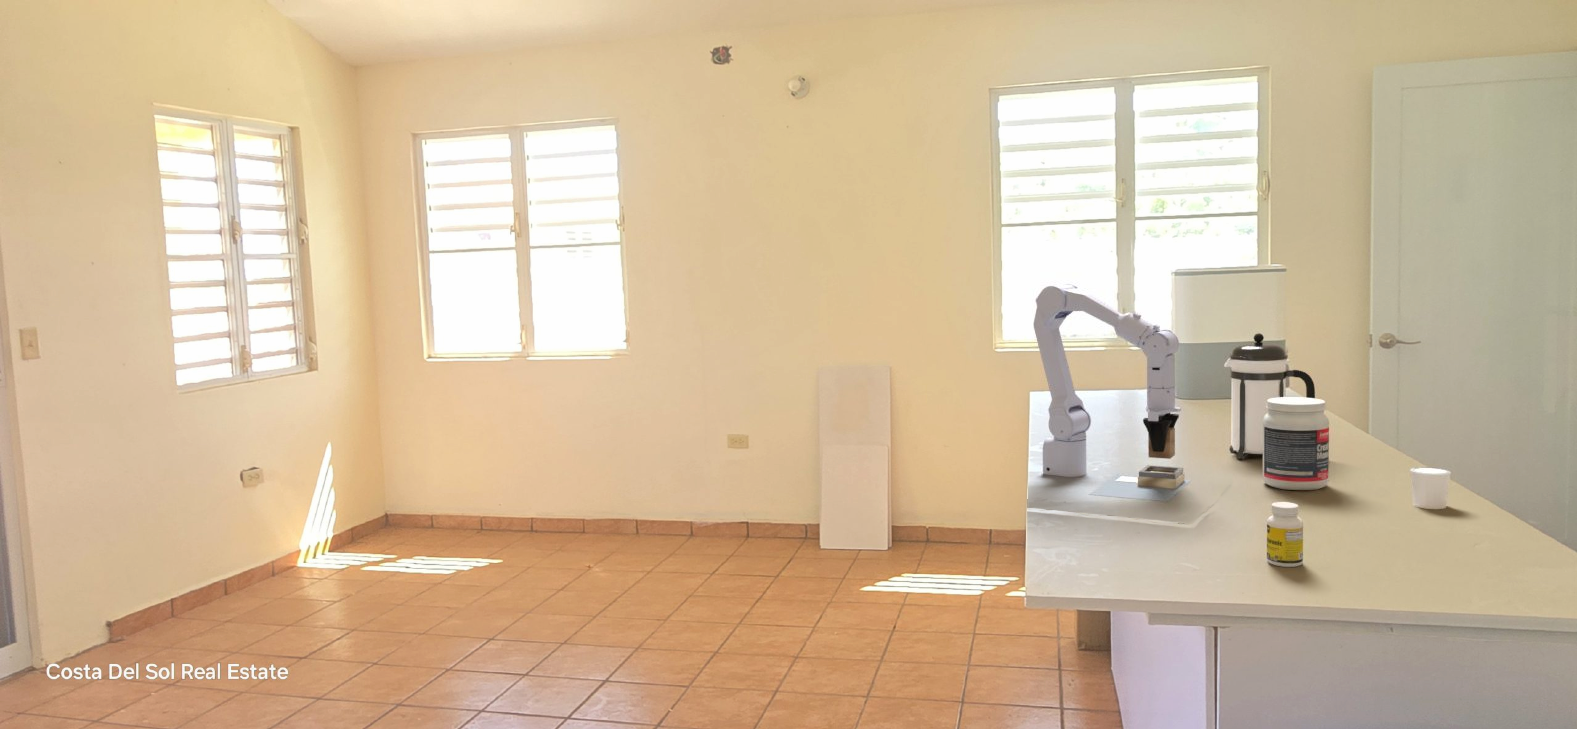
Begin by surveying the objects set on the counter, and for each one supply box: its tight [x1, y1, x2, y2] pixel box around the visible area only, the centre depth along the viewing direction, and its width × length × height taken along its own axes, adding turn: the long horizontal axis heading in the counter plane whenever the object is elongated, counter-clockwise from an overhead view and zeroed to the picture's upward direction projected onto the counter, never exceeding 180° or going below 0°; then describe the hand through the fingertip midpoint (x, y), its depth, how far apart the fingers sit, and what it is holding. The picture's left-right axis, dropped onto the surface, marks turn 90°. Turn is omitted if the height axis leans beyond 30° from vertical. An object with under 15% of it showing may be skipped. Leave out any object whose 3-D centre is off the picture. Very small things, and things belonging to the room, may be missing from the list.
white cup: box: [1409, 466, 1452, 510], centre depth 209 cm, size 7×7×7 cm
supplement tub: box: [1262, 396, 1330, 491], centre depth 229 cm, size 13×13×18 cm
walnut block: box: [1147, 427, 1176, 460], centre depth 232 cm, size 4×4×6 cm
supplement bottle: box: [1266, 501, 1304, 568], centre depth 176 cm, size 5×5×10 cm
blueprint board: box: [1088, 464, 1192, 502], centre depth 230 cm, size 16×22×4 cm
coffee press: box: [1223, 332, 1316, 461], centre depth 260 cm, size 17×16×30 cm
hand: (1161, 449), depth 232 cm, fingers closed on walnut block, 4 cm apart
